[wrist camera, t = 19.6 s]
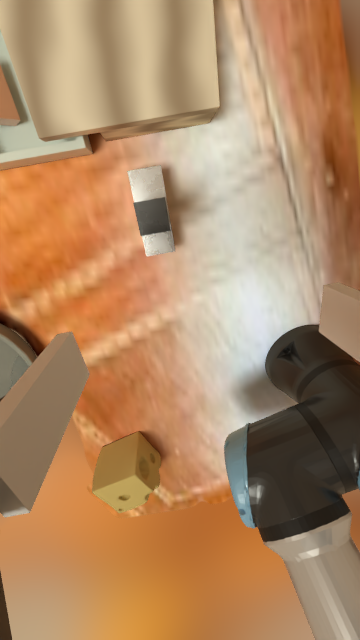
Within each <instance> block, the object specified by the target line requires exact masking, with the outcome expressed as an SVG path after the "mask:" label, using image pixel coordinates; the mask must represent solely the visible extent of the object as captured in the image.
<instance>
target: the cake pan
mask: <svg viewBox="0 0 360 640" xmlns="http://www.w3.org/2000/svg"><path fill="white" fill-rule="evenodd" d="M36 359H37V357H36V355H35V354H34V352H33V350H32V349H31V348H30V346H29V345H28V344H27V343H26V342H25V341H24V340H23V339H22V338H21V337H20V336H19V335H18V334H17V333H15V332H14V331H12V330H11V329H9V328H7V327H6V326H4V325H2V324H0V399H1V398H2V397H3V396H6V394H7V393H8V392H9V391H10V390H11V388H12V387H13V386H14V385H15V384H16V382H17V381H18V380H19V379H20V378H21V377H22V375H23V374H24V373H25V372H26V371H27V369H28V368H29V367H30V366H31V365H32V363H33V362H34V361H35V360H36Z"/></svg>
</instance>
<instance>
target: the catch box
mask: <svg viewBox="0 0 360 640" xmlns="http://www.w3.org/2000/svg"><path fill="white" fill-rule="evenodd" d="M0 66H1V68H2V71H3V74H4V76H5V79H6V82H7V84H8V87H9V90H10V93H11V95H12V98H13V101H14V103H15V106H16V109H17V112H18V114H19V117H20V121H19V123H18V124H17V125H16V126H7V125H0V170H6V169H11V168H17V167H23V166H28V165H34V164H39V163H45V162H51V161H56V160H62V159H67V158H73V157H79V156H84V155H90V154H93V151H92V148H91V144H90V140H89V137H88V135H82V136H76V137H71V138H65V139H59V140H54V141H48V142H44V141H42V140H41V139H39V137H38V134H37V132H36V129H35V126H34V123H33V120H32V118H31V115H30V112H29V109H28V106H27V103H26V101H25V98H24V95H23V92H22V89H21V86H20V84H19V81H18V78H17V75H16V72H15V69H14V67H13V64H12V61H11V58H10V55H9V52H8V50H7V47H6V44H5V41H4V38H3V35H2V33H1V30H0Z"/></svg>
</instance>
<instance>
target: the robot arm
mask: <svg viewBox="0 0 360 640" xmlns="http://www.w3.org/2000/svg"><path fill="white" fill-rule="evenodd" d="M352 357H353V358H355V359H356V360H357V361H359V362H360V291H359V290H356V289H354V288H351V287H349V286H346V285H343V284H341V283H333V284H327V285H324V287H323V296H322V305H321V315H320V324H319V326H318V325H307V326H302V327H299V328H296V329H293V330H291V331H289V332H288V333H286V334H285V335H283V336H282V337H281V338H279V339H278V340H277V341H276V342H275V343H274V345H273V346H272V347H271V349H270V351H269V352H268V355H267V358H266V362H265V368H266V372H267V375H268V376H269V378H270V379H271V381H272V382H273V384H274V385H275V386H276V387H277V388H278V389H280V390H282V391H283V392H284V393H286V394H287V395H288V396H290V397H291V398H293V399H294V400H295V401H297V402H298V403H299V404H297V405H295V406H292V407H290V408H287V409H285V410H283V411H280V412H278V413H276V414H273V415H271V416H268V417H266V418H264V419H261V420H259V421H256V422H254V423H252V424H250V423H248V424H246V426H244V427H242V428H240V429H238V430H236V431H234V432H232V433H231V434H229V435H228V437H227V438H226V441H225V445H224V454H225V464H226V469H227V475H228V479H229V483H230V487H231V491H232V495H233V498H234V501H235V504H236V506H237V508H238V511H239V514H240V517H241V519H242V521H243V523H244V524H245V525H246V526H247V527H252V528H255V527H258V529H259V532H260V534H261V537H262V540H263V542H264V544H265V545H266V546H267V547H268V548H270V549H271V550H273V551H274V552H276V553H277V554H279V555H280V556H281V558H282V559H283V561H284V563H285V565H286V568H287V570H288V573H289V575H290V578H291V580H292V583H293V585H294V588H295V590H296V593H297V595H298V598H299V600H300V603H301V605H302V608H303V610H304V613H305V615H306V617H307V620H308V623H309V625H310V628H311V630H312V633H313V635H314V638H315V640H360V552H359V550H358V549H357V547H356V545H355V543H354V542H353V540H352V538H351V536H350V525H351V517H352V513H351V511H350V509H349V508H348V506H347V504H346V503H345V501H344V499H343V498H342V494H344V493H347V492H350V491H352V490H356V489H359V490H360V365H358V364H357V363H356V362H355V361H354V359H353V358H352ZM88 377H89V371H88V369H87V367H86V364H85V362H84V359H83V357H82V355H81V352H80V350H79V347H78V345H77V343H76V340H75V338H74V335H73V333H72V332H66V333H61V334H57V335H56V336H55V337H54V339H53V340H52V341H51V342H50V343H49V344H48V346H47V347H46V348H45V349H44V350H43V352H42V353H41V354H40V355H39V356H38V358H37V359H36V360H35V361H34V362H33V363H32V365H31V366H30V367H29V368H28V369H27V371H26V372H25V373H24V374H23V375H22V377H21V378H20V379H19V380H18V381H17V382H16V384H15V385H14V386H13V387H12V388H11V390H10V391H9V392H8V393H7V394H6V396H3V397H2V398H1V399H0V513H1V514H3V516H4V517H9V516H14V515H19V514H25V513H30V511H31V509H32V506H33V504H34V502H35V499H36V497H37V495H38V493H39V490H40V488H41V486H42V483H43V481H44V479H45V476H46V474H47V472H48V469H49V467H50V465H51V462H52V460H53V458H54V455H55V453H56V451H57V448H58V446H59V444H60V442H61V439H62V437H63V435H64V432H65V430H66V427H67V425H68V423H69V421H70V418H71V416H72V414H73V411H74V409H75V407H76V405H77V402H78V400H79V398H80V395H81V393H82V391H83V388H84V386H85V384H86V381H87V379H88ZM0 640H12V636H11V630H10V624H9V618H8V613H7V607H6V601H5V595H4V590H3V584H2V578H1V573H0Z"/></svg>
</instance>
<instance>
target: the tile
mask: <svg viewBox="0 0 360 640" xmlns="http://www.w3.org/2000/svg"><path fill="white" fill-rule="evenodd" d="M19 121H20V117H19V114H18V112H17V109H16V106H15V103H14V101H13V98H12V95H11V93H10V90H9V87H8V84H7V82H6V79H5V76H4V74H3V71H2V68H1V66H0V125H7V126H16V125H17V124H18V123H19Z"/></svg>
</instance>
